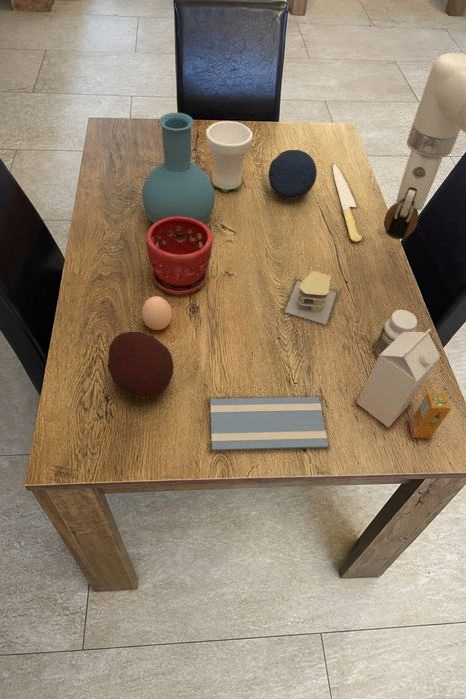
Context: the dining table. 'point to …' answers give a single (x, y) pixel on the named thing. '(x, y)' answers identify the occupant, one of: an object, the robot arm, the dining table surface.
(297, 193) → the decorative stone
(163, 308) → the egg
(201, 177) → the vase
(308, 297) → the stacked layers on plate
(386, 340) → the pill bottle
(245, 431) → the towel
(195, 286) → the flower pot
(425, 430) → the supplement box
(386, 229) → the fruit
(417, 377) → the milk carton
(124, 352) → the potato
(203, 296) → the dining table surface
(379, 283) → the dining table surface
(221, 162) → the cup
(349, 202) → the knife
